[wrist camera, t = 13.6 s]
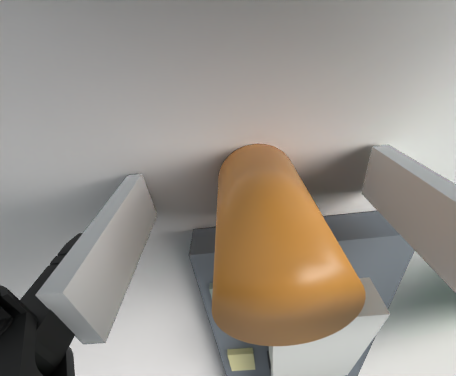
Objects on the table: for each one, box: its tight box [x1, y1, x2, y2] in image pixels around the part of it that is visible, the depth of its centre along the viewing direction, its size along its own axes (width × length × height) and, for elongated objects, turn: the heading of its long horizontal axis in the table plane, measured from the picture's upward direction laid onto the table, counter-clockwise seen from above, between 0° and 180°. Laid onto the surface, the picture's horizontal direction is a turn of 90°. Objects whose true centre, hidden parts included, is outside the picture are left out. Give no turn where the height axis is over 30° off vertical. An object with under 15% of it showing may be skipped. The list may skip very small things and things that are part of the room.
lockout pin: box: [212, 144, 366, 346], centre depth 9 cm, size 4×4×7 cm
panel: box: [189, 211, 415, 376], centre depth 19 cm, size 26×12×3 cm, turn 7°
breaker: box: [269, 277, 390, 376], centre depth 12 cm, size 8×4×2 cm, turn 7°
